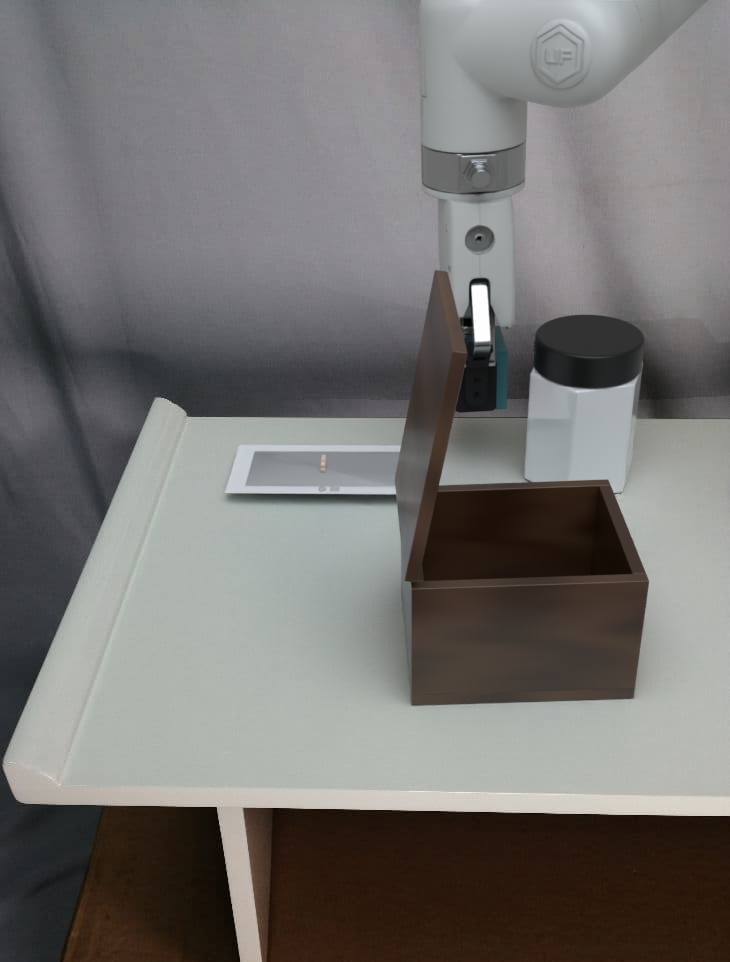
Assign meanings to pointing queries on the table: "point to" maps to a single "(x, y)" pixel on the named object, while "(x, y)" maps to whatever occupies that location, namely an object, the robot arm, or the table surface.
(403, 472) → the lid
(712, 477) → the table surface
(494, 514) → the chest
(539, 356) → the jar
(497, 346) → the block
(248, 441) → the table surface
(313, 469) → the touchpad
